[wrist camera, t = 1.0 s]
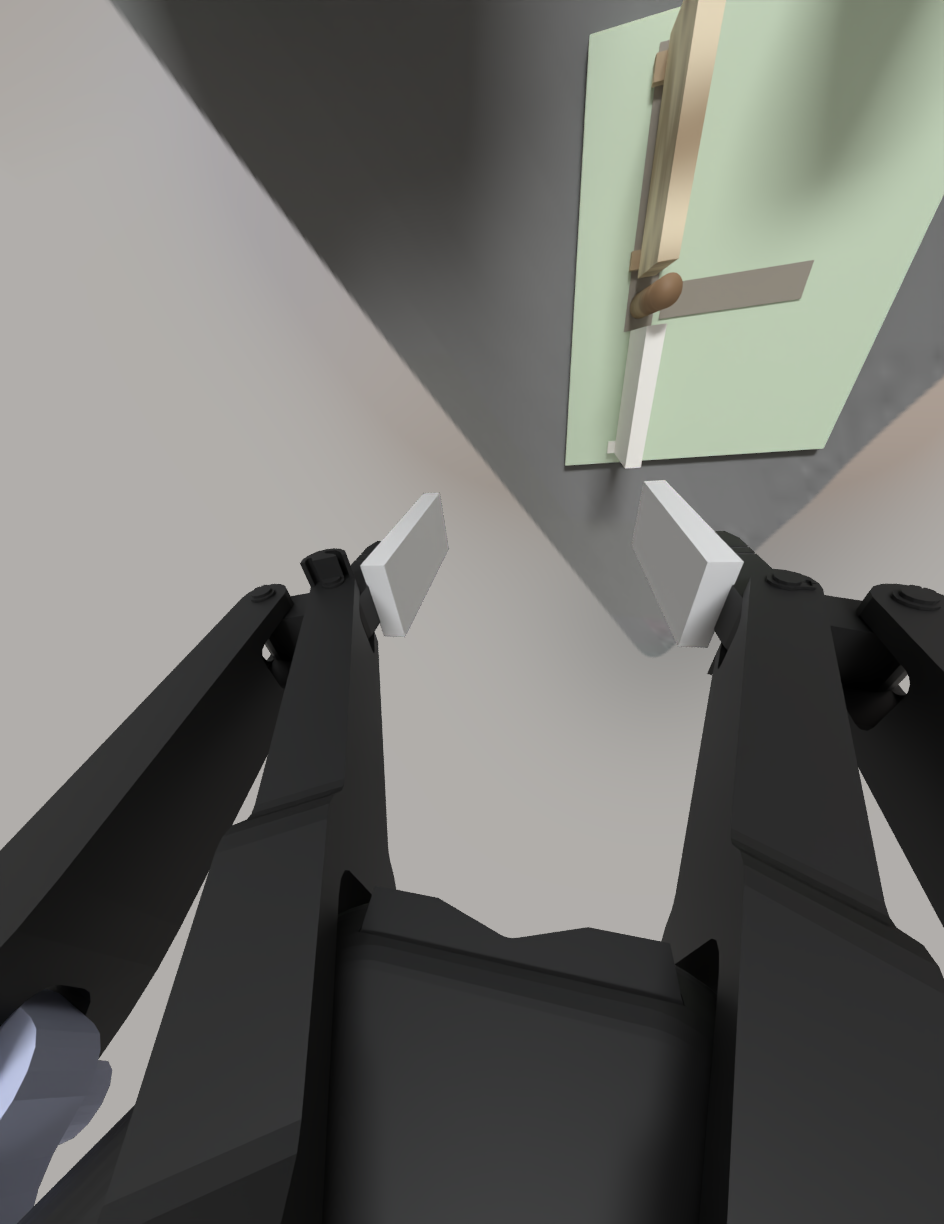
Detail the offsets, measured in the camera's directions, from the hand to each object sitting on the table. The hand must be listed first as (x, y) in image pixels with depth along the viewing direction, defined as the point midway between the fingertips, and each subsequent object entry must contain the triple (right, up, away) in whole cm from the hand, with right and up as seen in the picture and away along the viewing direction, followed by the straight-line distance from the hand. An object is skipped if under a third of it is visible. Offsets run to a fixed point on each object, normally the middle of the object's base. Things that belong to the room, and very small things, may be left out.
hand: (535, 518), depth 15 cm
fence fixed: (+10, +25, +9) cm, 28 cm away
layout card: (+16, +21, +11) cm, 28 cm away
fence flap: (+11, +15, +15) cm, 24 cm away
